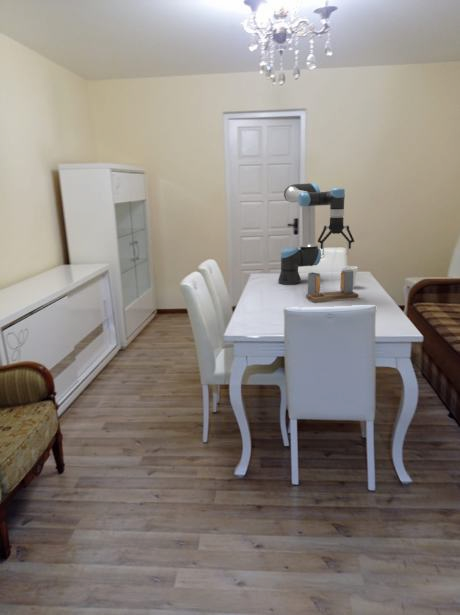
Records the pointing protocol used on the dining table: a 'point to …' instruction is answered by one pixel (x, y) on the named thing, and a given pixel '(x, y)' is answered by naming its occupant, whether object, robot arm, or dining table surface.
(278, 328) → the dining table surface
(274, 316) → the dining table surface
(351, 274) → the mounted finger
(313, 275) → the gray and orange block
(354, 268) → the foam cup
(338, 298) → the rail
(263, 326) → the dining table surface
